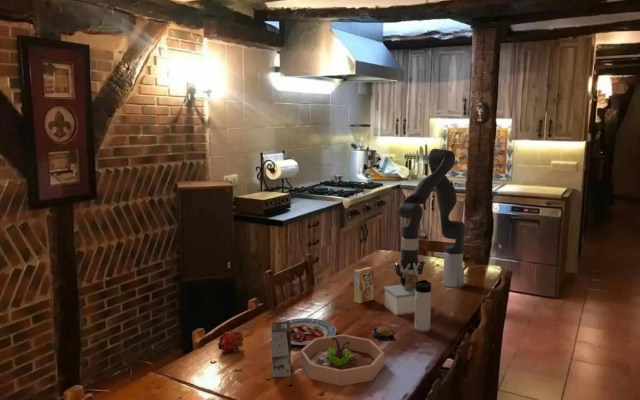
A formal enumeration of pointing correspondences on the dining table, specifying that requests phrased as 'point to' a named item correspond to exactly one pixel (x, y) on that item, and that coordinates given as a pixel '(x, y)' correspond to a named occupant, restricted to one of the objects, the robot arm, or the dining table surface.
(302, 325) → the ceramic plate
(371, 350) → the brown shallow octagonal piece
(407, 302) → the chest
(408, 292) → the lid
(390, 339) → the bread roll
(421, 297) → the travel mug
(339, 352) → the plant
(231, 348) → the dragon fruit
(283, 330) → the coffee box
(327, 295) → the dining table surface
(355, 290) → the candy box
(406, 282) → the walnut block
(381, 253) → the dining table surface
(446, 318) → the dining table surface
